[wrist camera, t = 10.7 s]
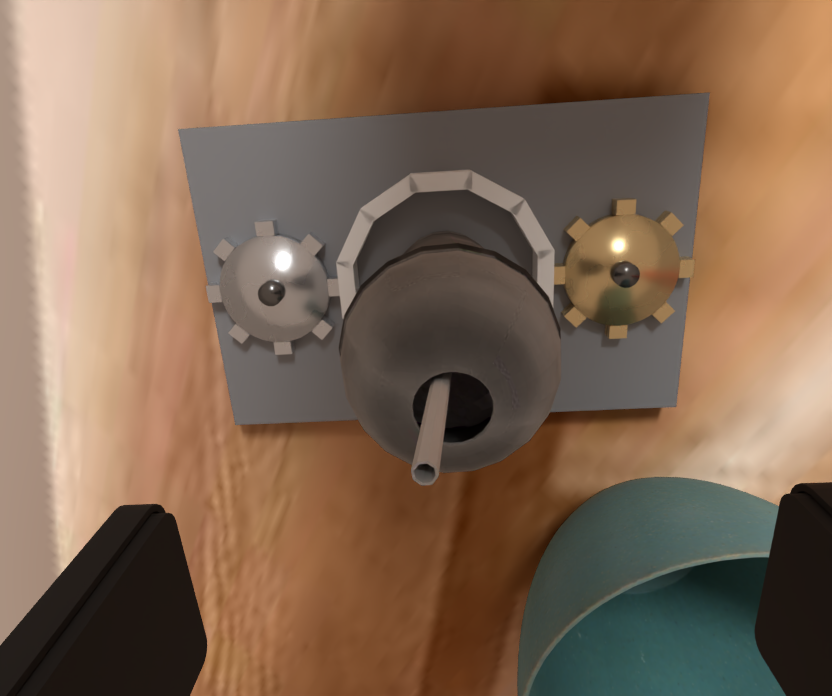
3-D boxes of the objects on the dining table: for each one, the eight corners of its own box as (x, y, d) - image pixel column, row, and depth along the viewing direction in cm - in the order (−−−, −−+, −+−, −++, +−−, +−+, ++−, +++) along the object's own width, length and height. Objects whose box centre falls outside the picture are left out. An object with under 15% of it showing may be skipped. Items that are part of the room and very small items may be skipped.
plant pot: (811, 593, 37) (979, 795, 26) (552, 673, 40) (599, 885, 29) (740, 362, 32) (913, 487, 20) (448, 476, 35) (454, 640, 24)
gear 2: (549, 202, 28) (555, 206, 26) (694, 194, 27) (709, 197, 26) (546, 336, 30) (552, 347, 29) (680, 330, 30) (693, 340, 28)
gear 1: (200, 223, 29) (187, 228, 27) (336, 215, 28) (331, 219, 27) (224, 352, 31) (214, 362, 29) (350, 346, 31) (346, 356, 29)
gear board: (190, 129, 28) (163, 128, 26) (695, 95, 27) (725, 89, 24) (243, 413, 34) (226, 437, 31) (665, 395, 33) (687, 419, 30)
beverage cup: (423, 364, 31) (403, 713, 12) (346, 253, 29) (182, 466, 10) (540, 295, 29) (726, 574, 11) (468, 172, 27) (540, 248, 9)
